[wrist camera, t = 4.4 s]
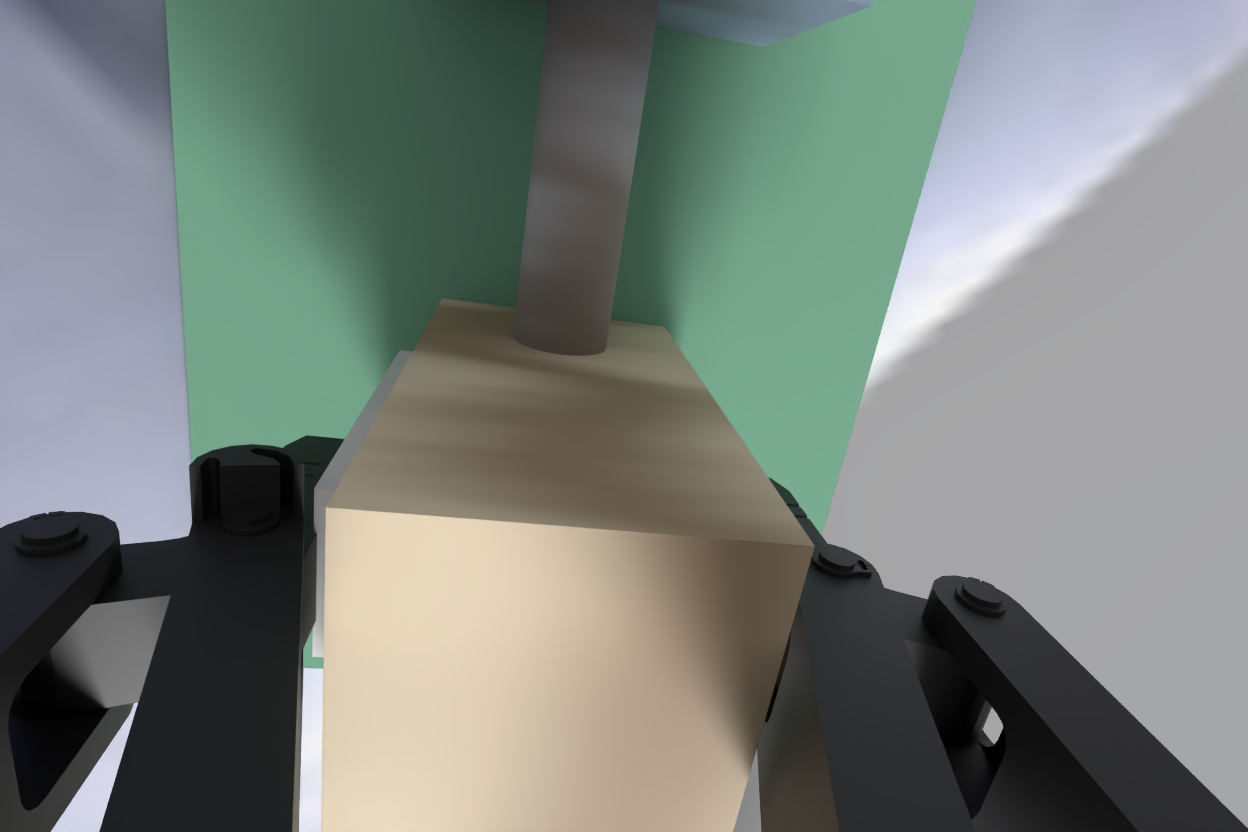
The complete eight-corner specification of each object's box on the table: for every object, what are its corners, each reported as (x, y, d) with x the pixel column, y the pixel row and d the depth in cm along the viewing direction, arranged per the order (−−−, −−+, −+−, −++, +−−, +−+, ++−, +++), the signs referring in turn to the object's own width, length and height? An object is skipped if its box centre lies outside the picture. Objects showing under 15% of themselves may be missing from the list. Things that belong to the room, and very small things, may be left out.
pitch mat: (209, 652, 19) (203, 663, 19) (131, -819, 10) (116, -853, 10) (773, 678, 22) (777, 688, 21) (1101, -473, 13) (1118, -492, 13)
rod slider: (385, 497, 17) (230, 876, 8) (414, -119, 13) (158, -659, 4) (668, 520, 18) (792, 874, 10) (780, -38, 14) (1195, -325, 5)
